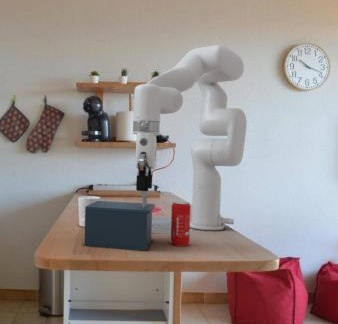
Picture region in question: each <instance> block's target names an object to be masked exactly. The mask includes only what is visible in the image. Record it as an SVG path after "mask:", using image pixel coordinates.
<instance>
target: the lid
mask: <svg viewBox="0 0 338 324" xmlns="http://www.w3.org/2000/svg"><path fill="white" fill-rule="evenodd" d="M139 195H140V197H141V200H142V201H141V202H126V201H125V202H124V201H109V200H108V201H107V200H100V201H96V202H94V203H92V204H90V205H88V206H86V207H85V209H86V210H102V211H119V212H135V213H151V211H152V212H153V210H154V208H155V207H156V203H148V196H149V195H150V190H149V189H148V191H140V193H139Z"/></svg>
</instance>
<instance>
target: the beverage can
mask: <svg viewBox="0 0 338 324" xmlns="http://www.w3.org/2000/svg"><path fill="white" fill-rule="evenodd" d="M170 221H171V222H170V241H171V244H172V245H173V246H177V247H186V246H189V243H190V235H191V233H190V232H191V230H190V229H191V228H190V222H191V205H190V202H188V201H187V202H186V201H172V204H171V217H170Z"/></svg>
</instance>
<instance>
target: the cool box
mask: <svg viewBox="0 0 338 324" xmlns="http://www.w3.org/2000/svg"><path fill="white" fill-rule="evenodd" d="M152 222H153V210H152V211H151V213H135V212H119V211H102V210H85V227H84V243H83V245H84V246H86V247H96V248H97V247H98V248H107V249H121V250H131V251H132V250H133V251H142V252H143V251H144V252H145V251H147V250H148V248H149V246H150V243H151V241H152V231H153V230H152V227H153V226H152V225H153V224H152Z"/></svg>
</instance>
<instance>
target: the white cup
mask: <svg viewBox="0 0 338 324" xmlns="http://www.w3.org/2000/svg"><path fill="white" fill-rule="evenodd" d="M96 201H101V196H94V195H82V196H78V197H77V205H78V207H77V208H78V209H77V210H78V226H80V227H83V228H85V210H86V209H85V207H86V206H88V205H90V204H92V203H94V202H96Z"/></svg>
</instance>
